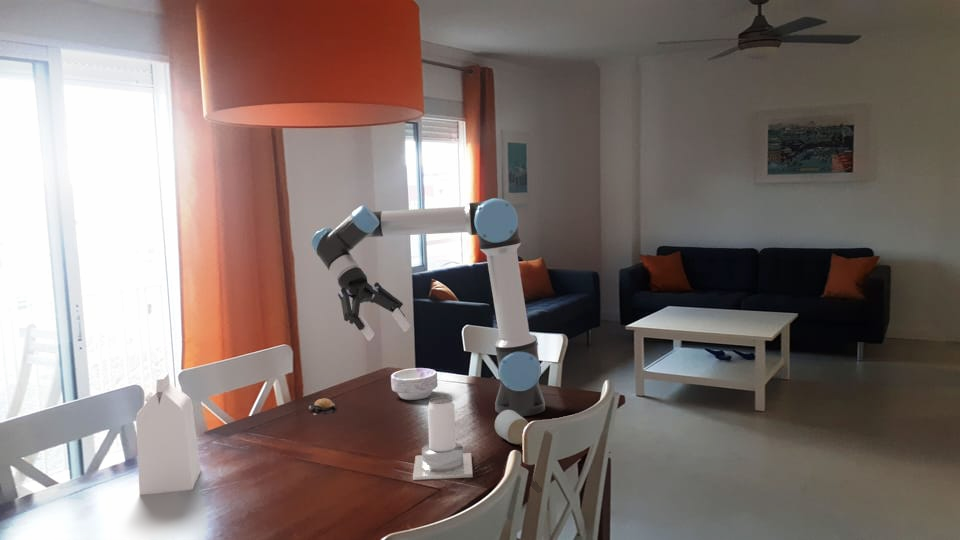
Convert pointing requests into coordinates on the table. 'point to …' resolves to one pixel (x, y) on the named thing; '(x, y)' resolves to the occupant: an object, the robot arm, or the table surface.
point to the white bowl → (414, 383)
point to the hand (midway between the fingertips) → (390, 333)
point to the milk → (167, 441)
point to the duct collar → (442, 464)
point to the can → (441, 424)
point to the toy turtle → (322, 407)
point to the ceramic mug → (510, 426)
